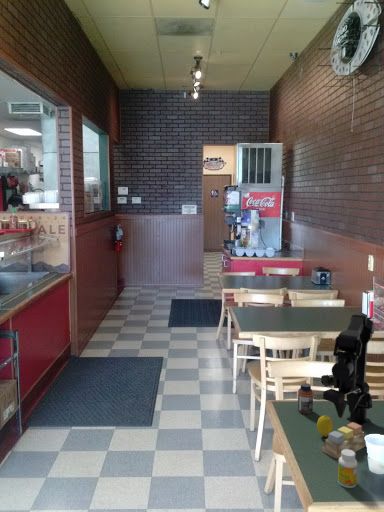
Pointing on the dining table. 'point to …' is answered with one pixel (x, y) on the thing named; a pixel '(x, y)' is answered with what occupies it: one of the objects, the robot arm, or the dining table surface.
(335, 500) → the dining table surface
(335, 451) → the button board
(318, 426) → the lemon
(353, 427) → the button terracotta
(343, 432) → the button yellow
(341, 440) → the button slate
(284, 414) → the dining table surface
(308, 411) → the supplement bottle
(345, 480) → the supplement bottle
